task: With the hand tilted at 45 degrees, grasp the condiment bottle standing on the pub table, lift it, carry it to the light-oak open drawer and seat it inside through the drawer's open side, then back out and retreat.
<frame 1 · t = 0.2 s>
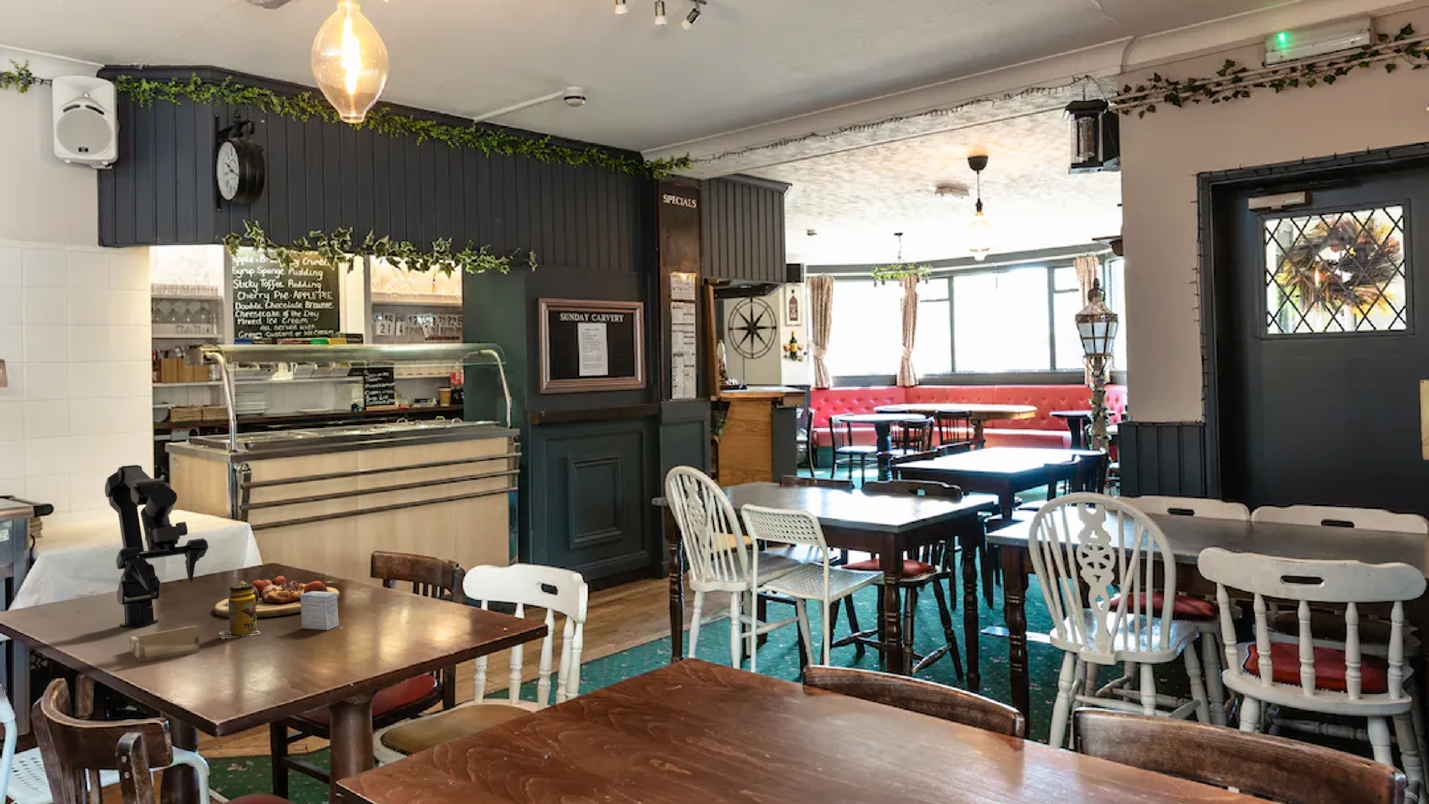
hand: (169, 585, 231), 15 cm above the table, tool tilted 35°, fingers open, 9 cm apart
condiment: (239, 634, 242), on the table
drawer: (164, 651, 228), on the table
medicine box: (320, 628, 246), on the table
wooden plate with food: (278, 606, 272), on the table
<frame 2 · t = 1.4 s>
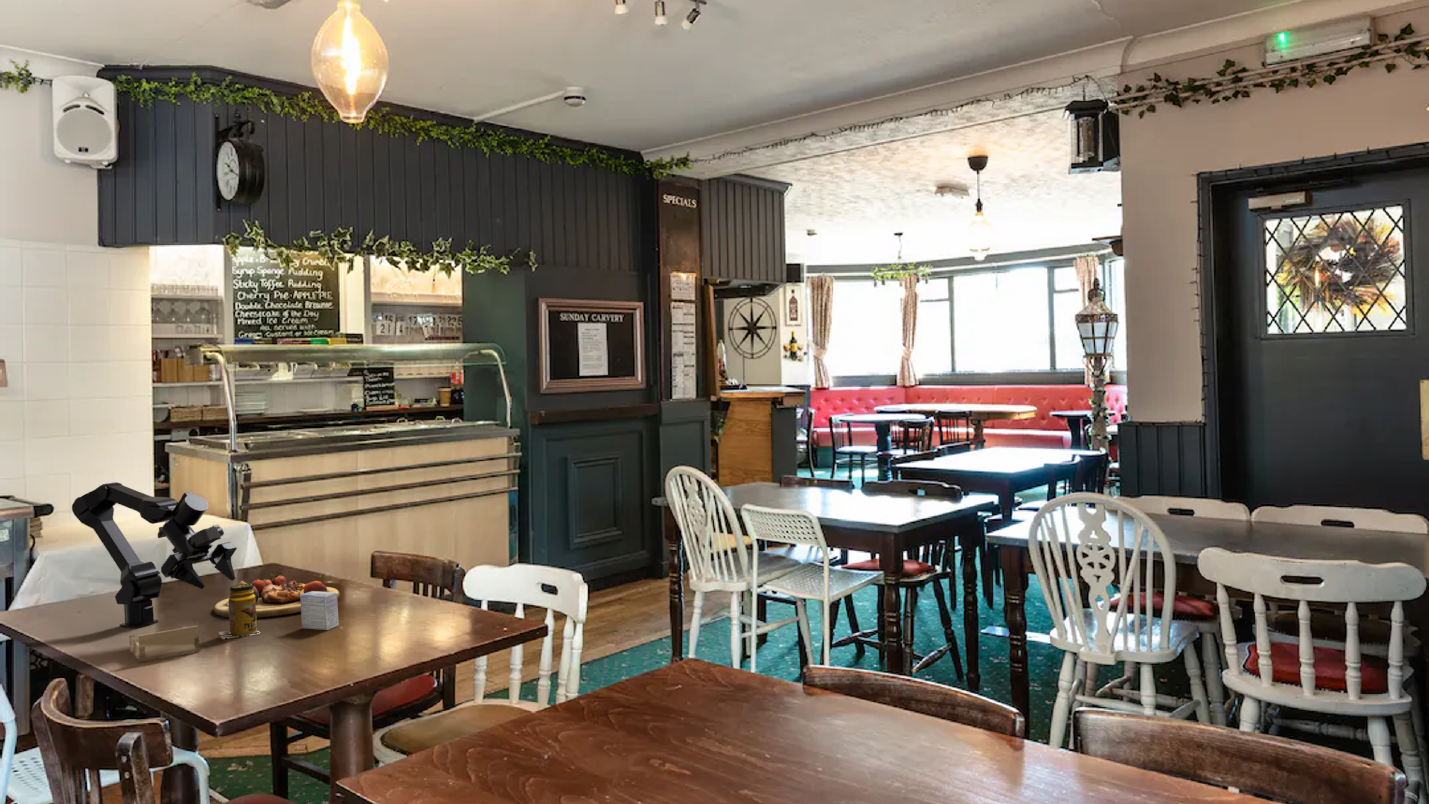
hand: (218, 583, 244), 12 cm above the table, tool tilted 45°, fingers open, 9 cm apart
nothing on the table moved.
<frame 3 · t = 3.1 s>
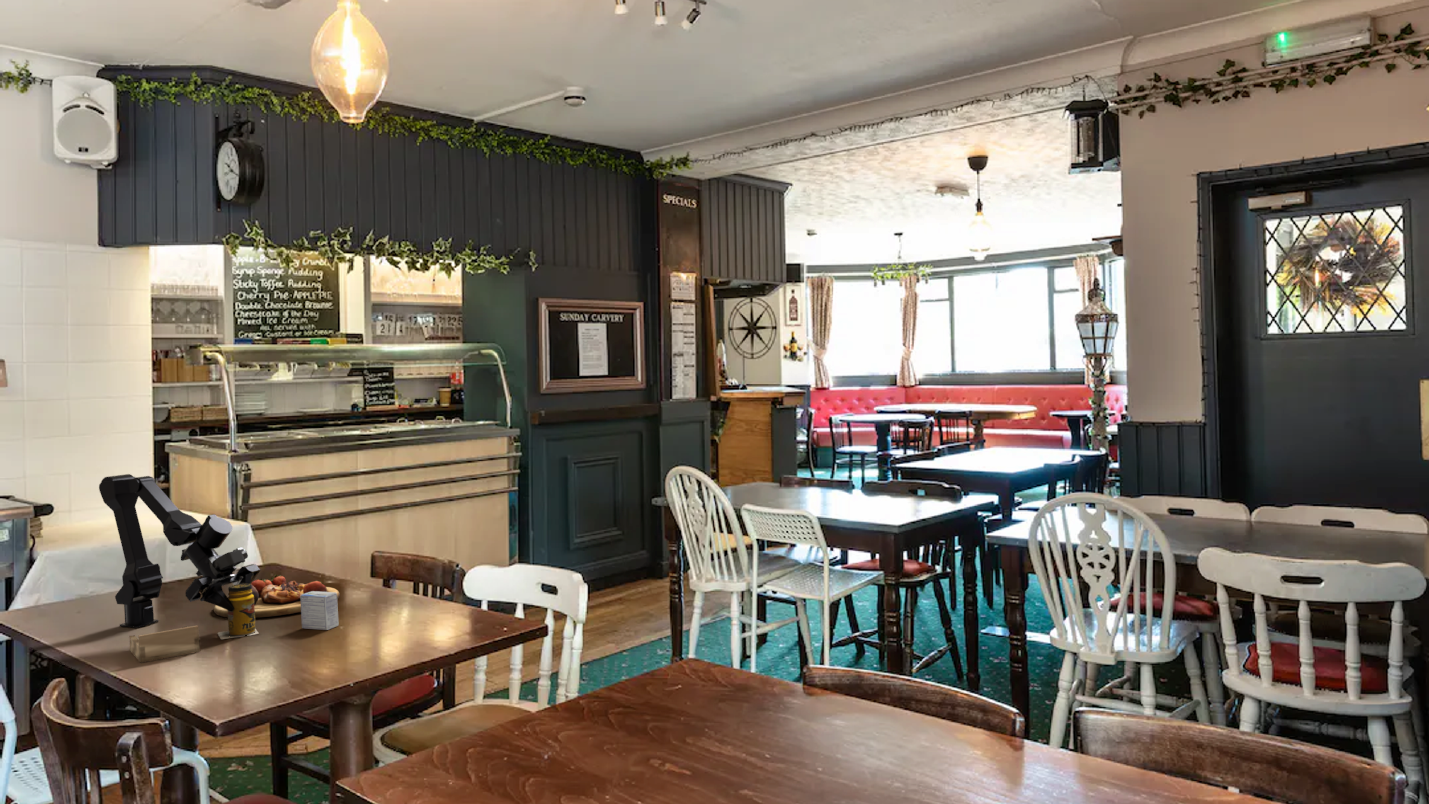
hand: (243, 607, 242), 7 cm above the table, tool tilted 45°, fingers closed on condiment, 6 cm apart
condiment: (238, 634, 242), on the table, touching gripper
everything else where it was.
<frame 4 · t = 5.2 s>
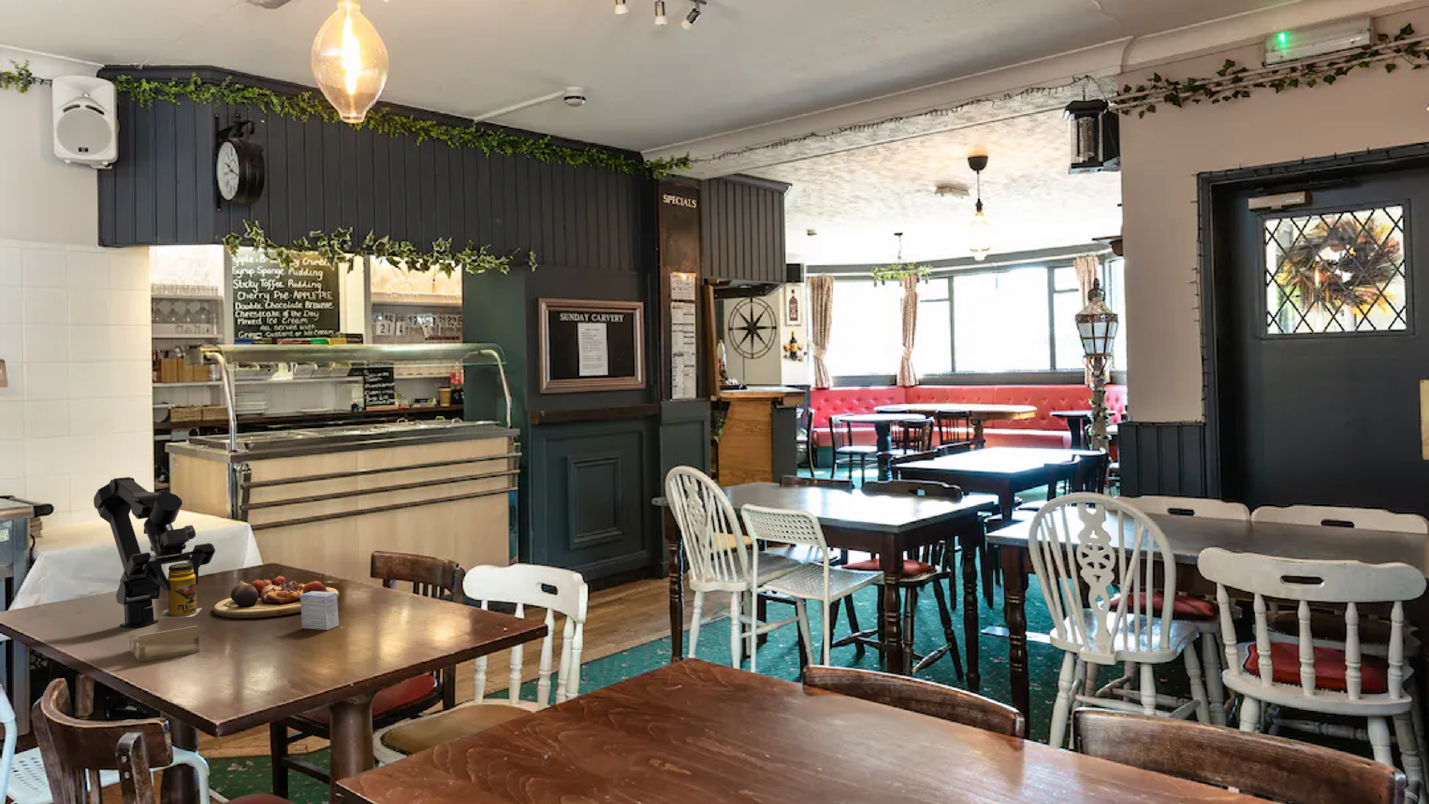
hand: (182, 587, 235), 13 cm above the table, tool tilted 45°, fingers closed on condiment, 6 cm apart
condiment: (179, 614, 236), point 6 cm above the table, touching gripper
everything else where it was.
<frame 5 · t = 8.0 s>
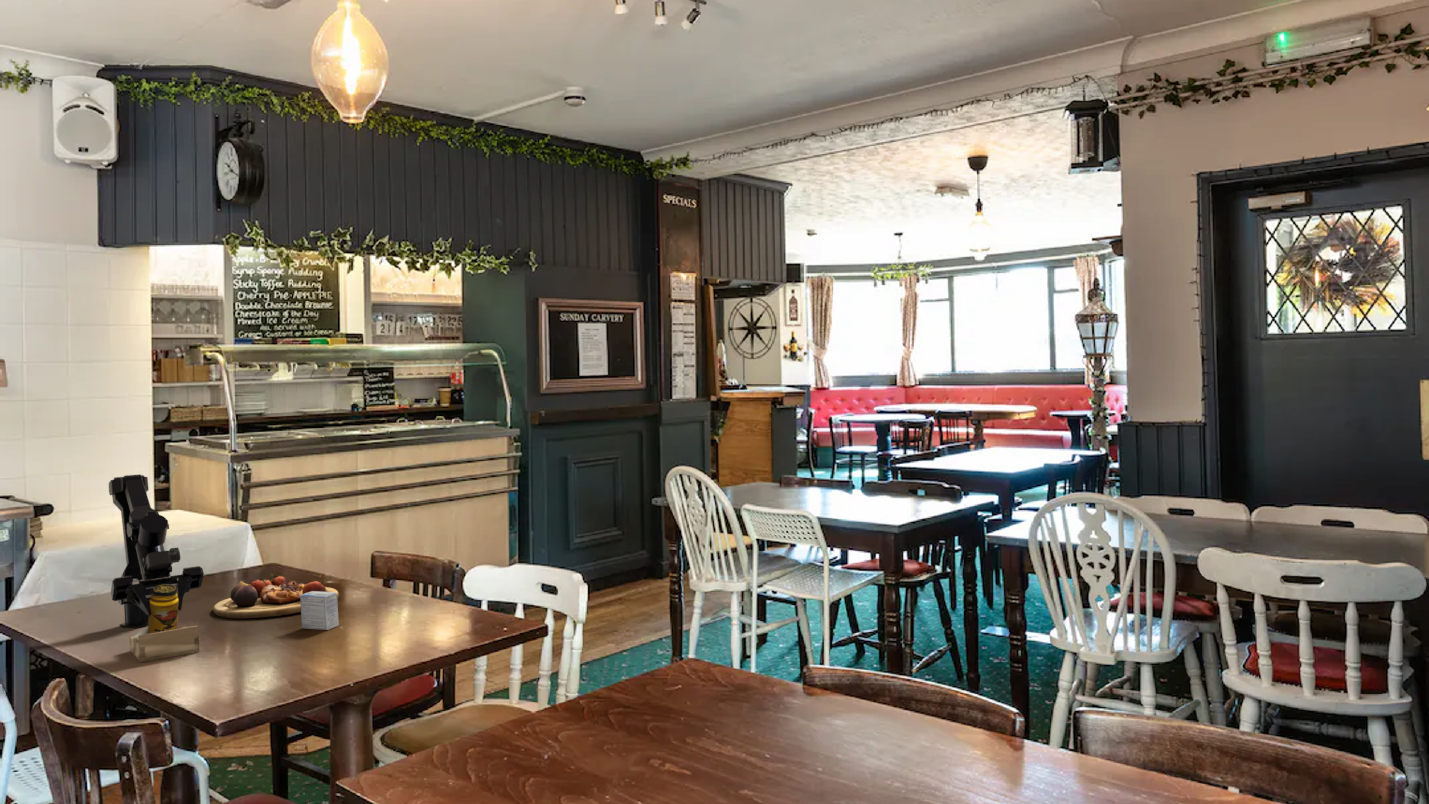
hand: (164, 612, 227), 9 cm above the table, tool tilted 45°, fingers closed on condiment, 6 cm apart
condiment: (159, 635, 230), point 3 cm above the table, touching drawer, gripper
everything else where it was.
when the fingers open (9 cm above the table, at t = 8.0 s): condiment moves 2 cm, resting on drawer.
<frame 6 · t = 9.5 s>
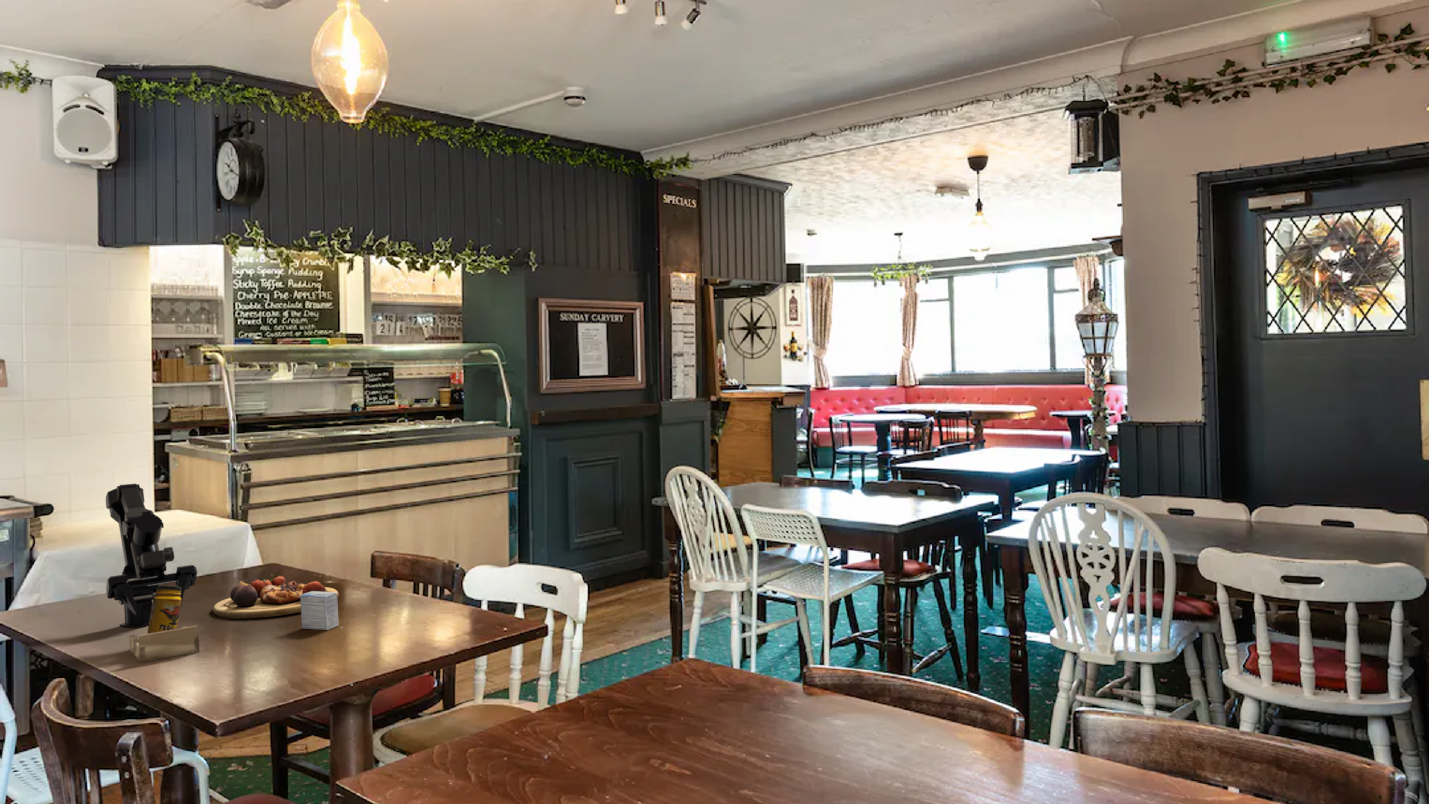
hand: (158, 610, 232), 9 cm above the table, tool tilted 45°, fingers open, 9 cm apart
condiment: (157, 638, 231), point 2 cm above the table, touching drawer, gripper
everything else where it was.
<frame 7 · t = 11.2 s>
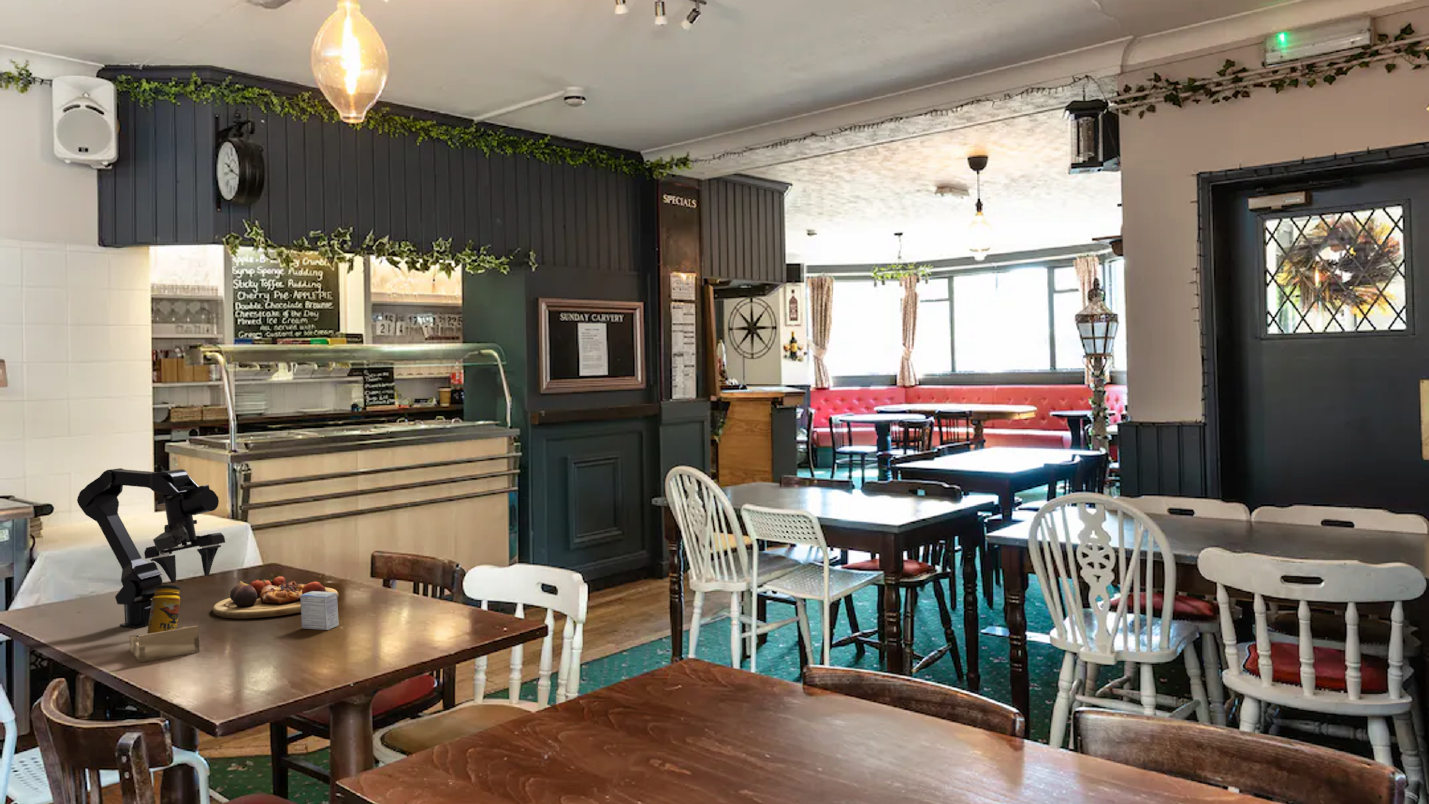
hand: (190, 579, 248), 13 cm above the table, tool pointing down, fingers open, 9 cm apart
condiment: (157, 638, 231), point 2 cm above the table, touching drawer
everything else where it was.
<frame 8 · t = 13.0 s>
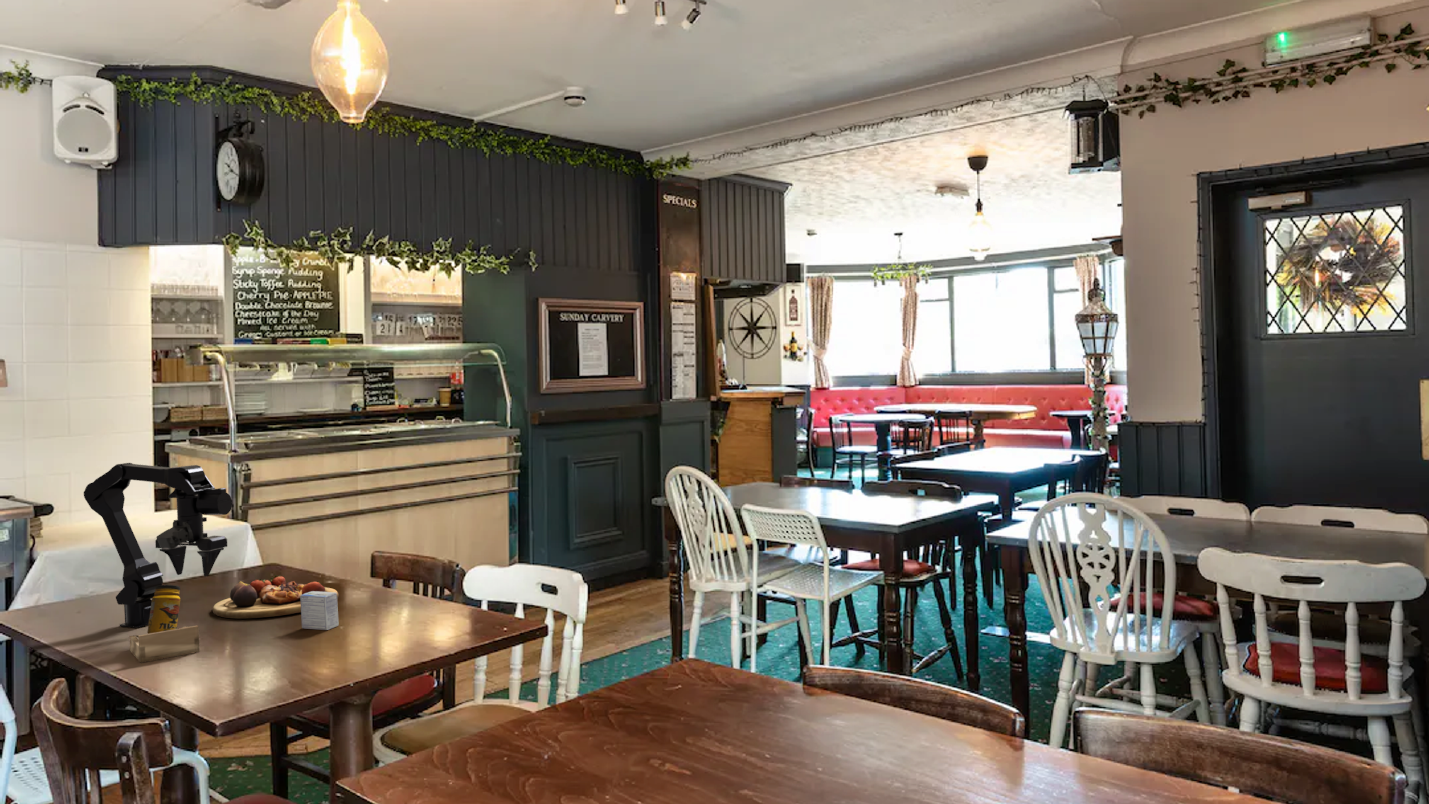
hand: (192, 575, 251), 13 cm above the table, tool pointing down, fingers open, 9 cm apart
nothing on the table moved.
at the end: condiment 4.3 cm from the drawer (horizontally); condiment tilted 20°; the gripper is holding nothing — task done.
